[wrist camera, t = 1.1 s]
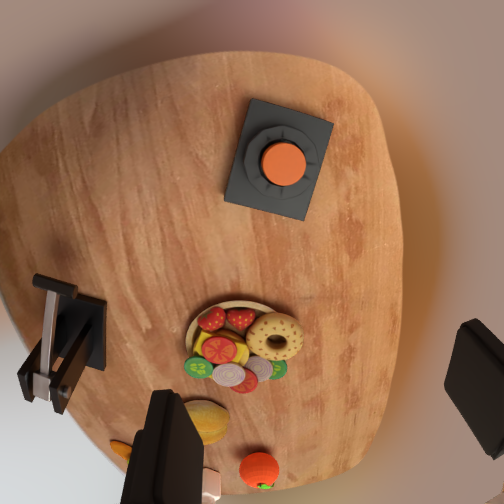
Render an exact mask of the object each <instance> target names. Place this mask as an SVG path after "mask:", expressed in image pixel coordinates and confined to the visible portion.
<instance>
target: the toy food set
mask: <svg viewBox="0 0 504 504" xmlns="http://www.w3.org/2000/svg"><path fill="white" fill-rule="evenodd" d="M303 341H304V332H303V328H302V326H301V325H300V323H299V322H298V321H297V320H296V319H294V318H293V317H291V316H289V315H286V314H282V313H277V312H276V311H274V310H273V309H271V308H269V307H267V306H265V305H263V304H260V303H257V302H252V301H244V300H235V301H227V302H222V303H219V304H216V305H214V306H211V307H209V308H208V309H206V310H204V311H203V312H202V313H200V314H199V315H198V316H197V317H196V318H195V319H194V320H193V322H192V323H191V325H190V327H189V329H188V331H187V335H186V350H187V353H188V356H189V358H188V359H187V360H186V361H185V364H184V369H185V371H186V372H187V373H188V374H189V375H190V376H192V377H194V378H206V377H210V378H212V379H214V381H215V382H216V383H218V384H220V385H222V386H227V387H230V388H231V389H232V390H234V391H235V392H238V393H249V392H252V391H253V390H254V389H255V388H256V387H257V383H258V382H262V381H265V380H267V379H279V378H281V377H283V376H284V375H285V374H286V372H287V364H286V361H287V359H288V358H290V357H293V356H294V355H296V354H297V353H298V352H299V350H300V349H301V347H302V345H303Z"/></svg>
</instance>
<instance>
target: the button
mask: <svg viewBox="0 0 504 504" xmlns="http://www.w3.org/2000/svg"><path fill="white" fill-rule="evenodd" d="M261 166H262V169H263V172H264V173H265V175H266V176H267V178H268V179H269V180H270V181H272V182H273V183H275V184H277V185H281V186H287V185H291V184H294V183H296V182H297V181H298V180H300V178H301V177H302V176H303V174H304V172H305V169H306V160H305V157H304V155H303V153H302V151H301V150H300V149H299V148H297V147H296V146H294V145H292V144H289V143H284V142H279V143H275V144H272V145H271V146H269V147H268V148H267V149H266V150H265V152H264V153H263V156H262V159H261Z"/></svg>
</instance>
